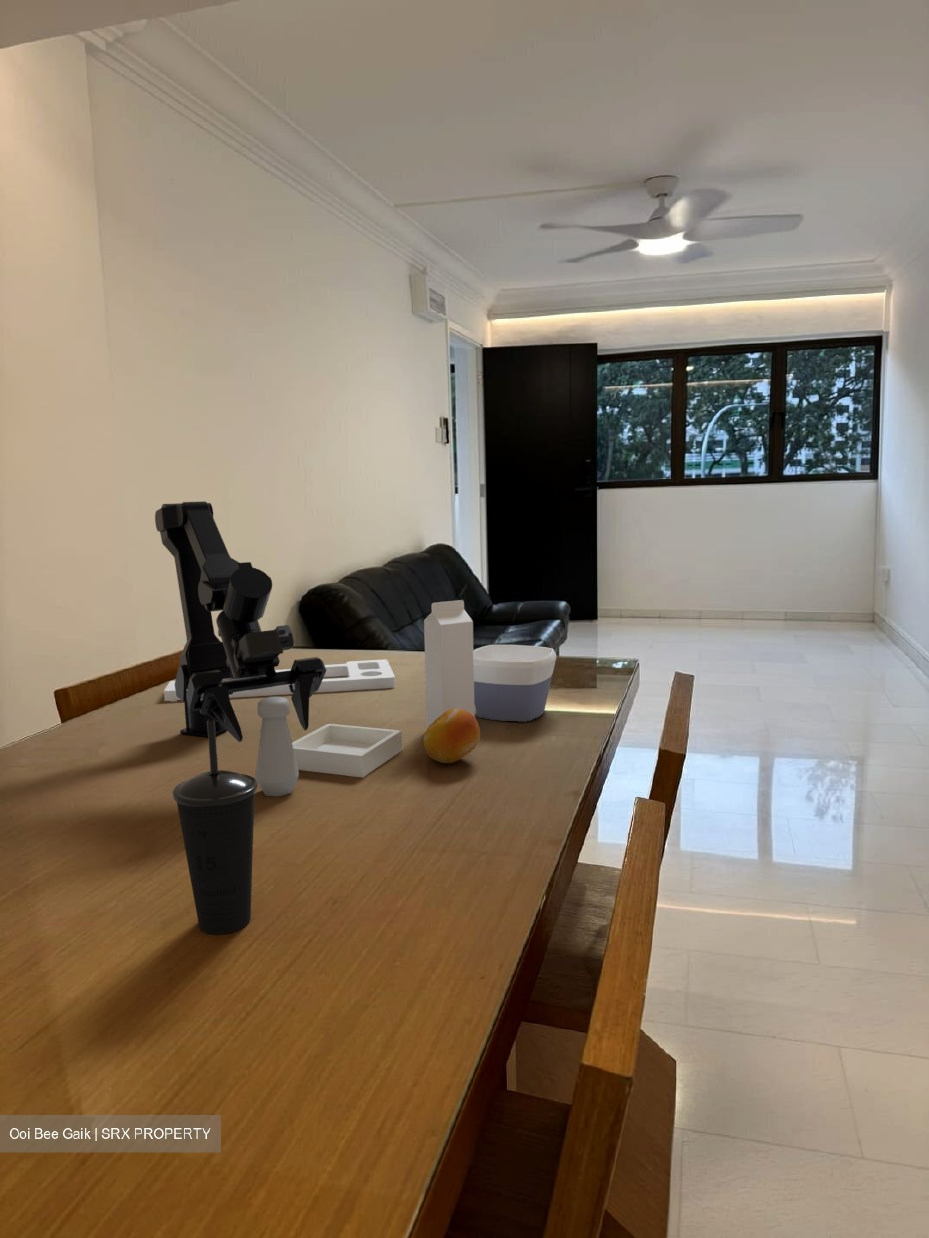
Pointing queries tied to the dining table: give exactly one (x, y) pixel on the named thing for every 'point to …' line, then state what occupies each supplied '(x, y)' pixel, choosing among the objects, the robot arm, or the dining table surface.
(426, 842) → the dining table surface
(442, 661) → the milk
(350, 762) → the dish
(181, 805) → the drinking cup
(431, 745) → the fruit
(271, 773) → the salt shaker
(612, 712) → the dining table surface
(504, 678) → the bowl
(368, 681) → the holder
